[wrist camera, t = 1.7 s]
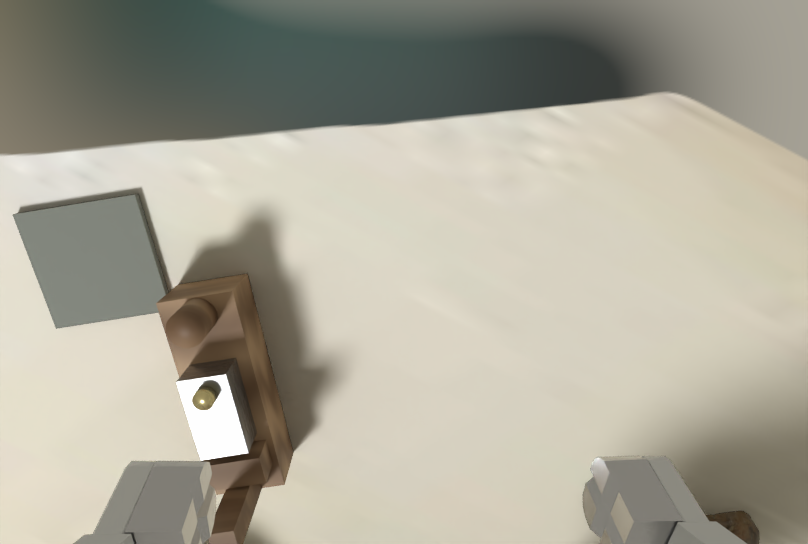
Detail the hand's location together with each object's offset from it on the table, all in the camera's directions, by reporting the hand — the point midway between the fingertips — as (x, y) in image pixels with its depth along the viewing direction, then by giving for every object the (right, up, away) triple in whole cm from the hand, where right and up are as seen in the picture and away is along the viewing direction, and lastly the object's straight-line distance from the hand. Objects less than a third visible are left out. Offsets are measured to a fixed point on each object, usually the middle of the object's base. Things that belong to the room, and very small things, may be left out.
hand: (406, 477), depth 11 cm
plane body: (-15, -5, +37) cm, 40 cm away
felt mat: (-26, +5, +33) cm, 42 cm away
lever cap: (-15, -6, +32) cm, 36 cm away
